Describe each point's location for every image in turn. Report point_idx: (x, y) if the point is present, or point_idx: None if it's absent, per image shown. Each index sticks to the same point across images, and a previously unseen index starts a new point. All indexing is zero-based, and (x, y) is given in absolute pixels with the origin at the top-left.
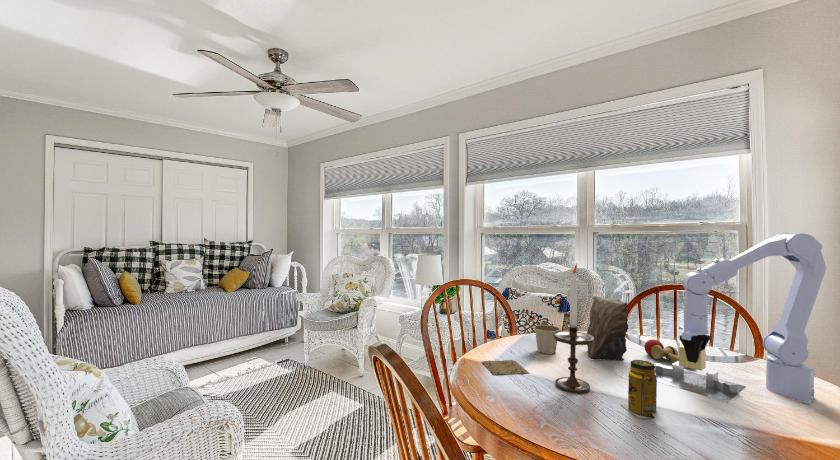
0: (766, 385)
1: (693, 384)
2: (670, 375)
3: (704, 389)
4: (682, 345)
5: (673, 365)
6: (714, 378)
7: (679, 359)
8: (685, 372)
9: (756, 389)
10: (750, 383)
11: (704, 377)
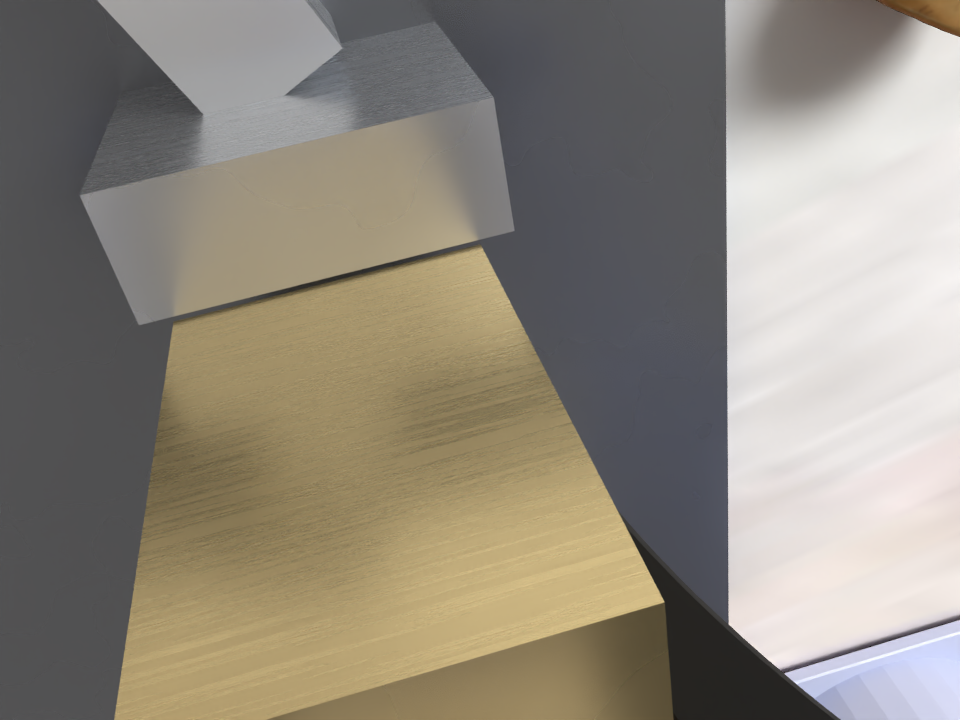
0: (852, 717)
1: (143, 470)
2: (119, 59)
3: (122, 611)
4: (436, 697)
5: (94, 218)
6: None
7: (163, 426)
8: (601, 77)
9: (797, 629)
10: (952, 528)
11: (630, 341)
